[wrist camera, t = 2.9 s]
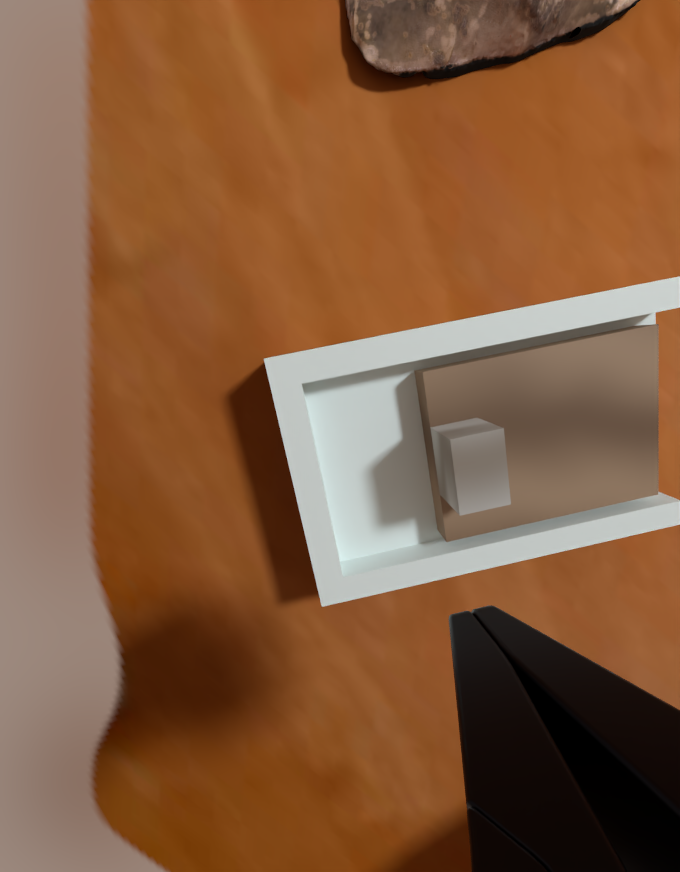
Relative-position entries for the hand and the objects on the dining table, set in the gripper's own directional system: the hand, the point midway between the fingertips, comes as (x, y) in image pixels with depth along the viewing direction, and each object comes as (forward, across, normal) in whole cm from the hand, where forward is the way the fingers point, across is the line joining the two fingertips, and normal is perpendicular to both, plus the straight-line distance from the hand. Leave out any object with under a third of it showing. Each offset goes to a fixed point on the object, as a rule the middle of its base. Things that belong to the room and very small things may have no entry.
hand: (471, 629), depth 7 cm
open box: (+12, -5, 0) cm, 13 cm away
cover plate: (+10, -8, 0) cm, 13 cm away
